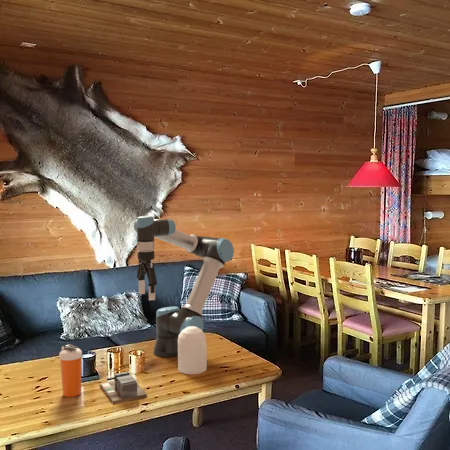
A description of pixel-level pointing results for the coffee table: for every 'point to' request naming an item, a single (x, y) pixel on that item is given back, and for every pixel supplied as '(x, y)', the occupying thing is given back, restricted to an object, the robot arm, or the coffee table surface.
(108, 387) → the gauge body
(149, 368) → the coffee table surface
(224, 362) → the coffee table surface
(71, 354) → the shaker bottle
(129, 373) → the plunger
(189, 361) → the container
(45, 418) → the coffee table surface
